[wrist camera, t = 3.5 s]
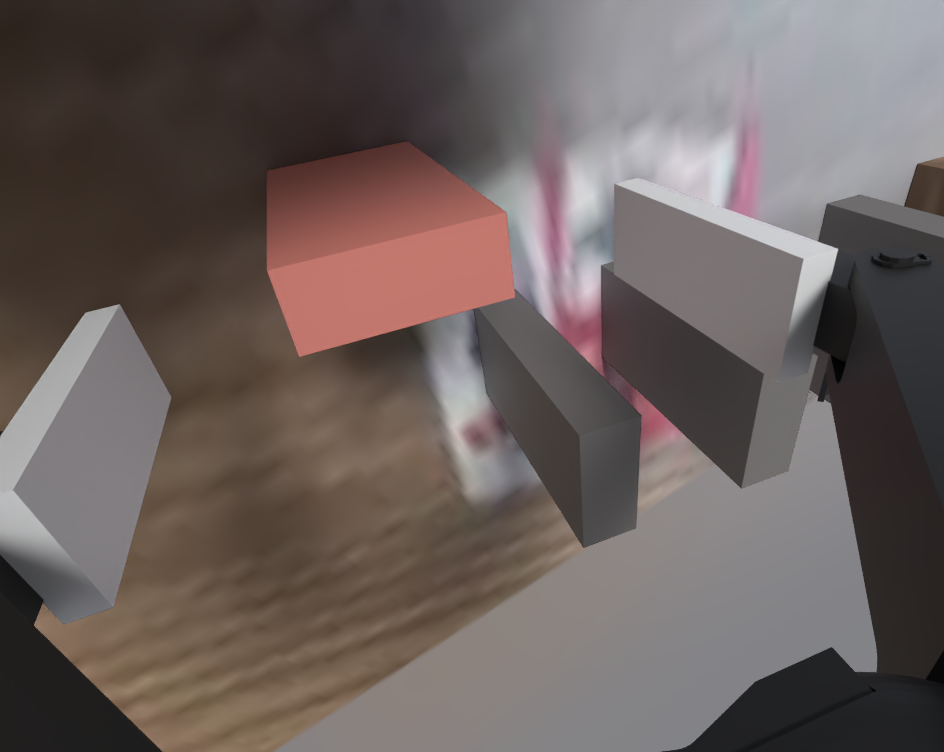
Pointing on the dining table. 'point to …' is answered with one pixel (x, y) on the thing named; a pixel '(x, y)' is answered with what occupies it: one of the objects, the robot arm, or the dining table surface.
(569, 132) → the dining table surface
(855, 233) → the domino
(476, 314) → the domino
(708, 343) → the domino
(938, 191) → the end stop
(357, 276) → the red domino
